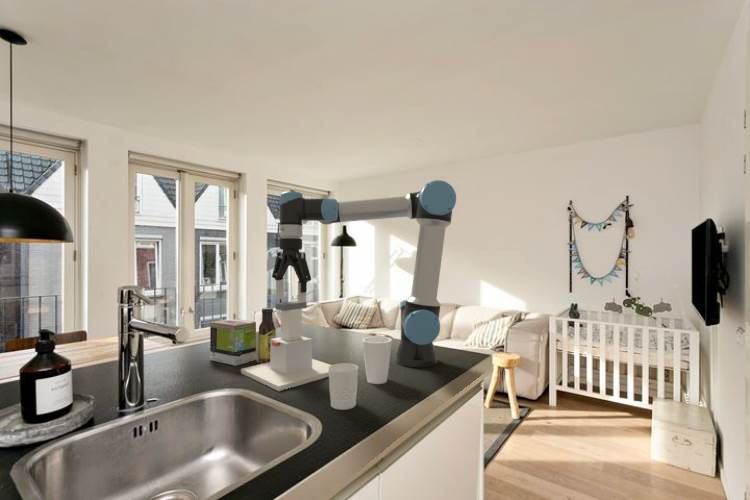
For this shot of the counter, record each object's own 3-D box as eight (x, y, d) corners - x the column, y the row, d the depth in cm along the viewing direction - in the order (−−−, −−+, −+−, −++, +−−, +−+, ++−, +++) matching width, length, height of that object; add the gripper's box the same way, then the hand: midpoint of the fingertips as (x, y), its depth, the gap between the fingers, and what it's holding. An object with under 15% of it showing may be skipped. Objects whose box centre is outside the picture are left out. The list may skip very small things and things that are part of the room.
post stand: (341, 372, 128) (341, 338, 128) (278, 391, 110) (278, 352, 111) (300, 358, 144) (300, 328, 145) (241, 373, 127) (241, 339, 127)
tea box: (257, 360, 143) (257, 321, 143) (234, 366, 135) (234, 325, 135) (231, 354, 151) (231, 317, 151) (209, 360, 143) (209, 321, 143)
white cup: (329, 399, 104) (329, 363, 104) (357, 398, 105) (357, 362, 105) (328, 411, 96) (327, 372, 96) (358, 410, 97) (358, 371, 97)
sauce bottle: (270, 364, 137) (270, 310, 137) (254, 363, 138) (254, 309, 138) (278, 359, 143) (278, 307, 144) (263, 358, 145) (263, 307, 145)
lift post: (307, 366, 129) (306, 302, 129) (283, 372, 122) (283, 304, 123) (298, 363, 133) (298, 300, 133) (275, 368, 126) (275, 303, 126)
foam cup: (395, 377, 123) (395, 337, 123) (387, 387, 114) (386, 344, 114) (368, 374, 126) (368, 335, 126) (357, 383, 117) (357, 341, 117)
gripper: (262, 238, 134) (261, 298, 134) (302, 236, 116) (302, 305, 116) (281, 239, 139) (280, 296, 139) (322, 237, 122) (321, 303, 122)
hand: (290, 300), depth 128 cm, fingers open, 13 cm apart
